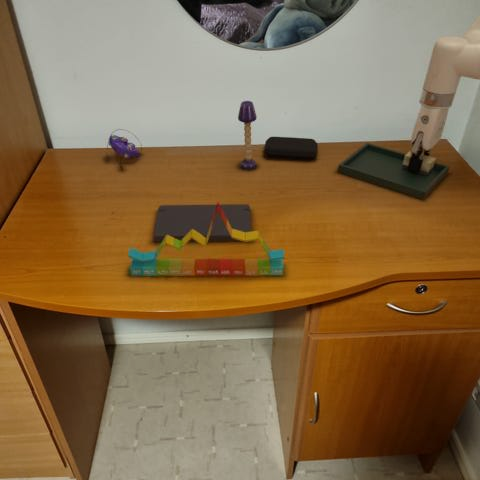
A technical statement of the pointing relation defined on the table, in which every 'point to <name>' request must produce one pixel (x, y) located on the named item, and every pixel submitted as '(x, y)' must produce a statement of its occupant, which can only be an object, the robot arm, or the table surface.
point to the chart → (201, 267)
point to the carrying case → (291, 148)
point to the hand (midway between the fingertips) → (416, 168)
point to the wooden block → (426, 164)
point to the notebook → (201, 221)
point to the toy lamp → (247, 132)
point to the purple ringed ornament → (123, 147)
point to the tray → (390, 171)
